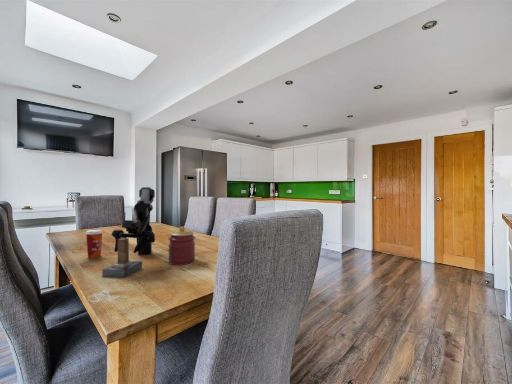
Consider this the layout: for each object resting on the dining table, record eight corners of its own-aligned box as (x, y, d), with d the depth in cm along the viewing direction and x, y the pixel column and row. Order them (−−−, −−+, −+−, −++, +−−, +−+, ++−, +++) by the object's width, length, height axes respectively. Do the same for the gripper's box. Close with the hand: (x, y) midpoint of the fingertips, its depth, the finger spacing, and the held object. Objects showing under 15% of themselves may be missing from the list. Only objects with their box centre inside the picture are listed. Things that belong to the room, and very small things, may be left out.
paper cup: (96, 258, 123) (96, 231, 122) (81, 258, 123) (81, 231, 123) (106, 254, 130) (106, 229, 130) (92, 254, 131) (92, 229, 130)
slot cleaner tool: (123, 267, 107) (123, 237, 107) (131, 267, 107) (131, 237, 106) (114, 271, 101) (114, 240, 101) (122, 272, 101) (122, 240, 101)
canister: (187, 266, 113) (187, 229, 112) (162, 264, 115) (163, 227, 115) (199, 258, 125) (199, 225, 125) (177, 256, 128) (177, 224, 128)
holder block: (122, 266, 111) (122, 260, 110) (142, 268, 109) (142, 261, 109) (102, 276, 99) (102, 269, 99) (124, 277, 97) (124, 270, 97)
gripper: (114, 212, 111) (95, 241, 100) (151, 213, 109) (135, 243, 98) (125, 226, 119) (109, 254, 108) (160, 228, 117) (147, 256, 106)
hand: (124, 252), depth 105 cm, fingers open, 9 cm apart
